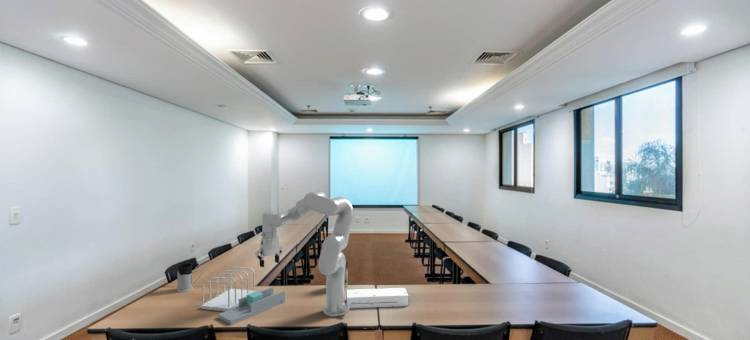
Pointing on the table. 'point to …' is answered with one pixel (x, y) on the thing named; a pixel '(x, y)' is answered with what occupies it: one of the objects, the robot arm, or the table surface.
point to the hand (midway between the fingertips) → (269, 264)
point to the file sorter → (227, 293)
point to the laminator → (377, 297)
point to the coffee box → (346, 275)
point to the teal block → (254, 297)
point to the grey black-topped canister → (185, 277)
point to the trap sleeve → (252, 306)
